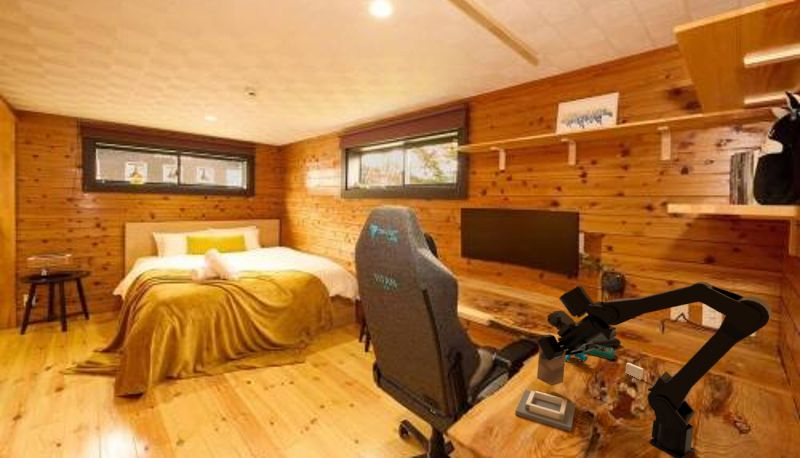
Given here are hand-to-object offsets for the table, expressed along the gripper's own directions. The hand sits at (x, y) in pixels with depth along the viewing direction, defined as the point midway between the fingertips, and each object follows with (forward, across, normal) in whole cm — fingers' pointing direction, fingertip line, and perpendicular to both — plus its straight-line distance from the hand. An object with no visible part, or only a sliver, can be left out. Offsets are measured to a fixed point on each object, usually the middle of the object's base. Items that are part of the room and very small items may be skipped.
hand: (547, 356), depth 111 cm
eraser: (+3, -35, +12) cm, 37 cm away
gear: (+15, -28, 0) cm, 31 cm away
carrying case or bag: (+20, -54, -5) cm, 58 cm away
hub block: (+4, 0, +6) cm, 7 cm away
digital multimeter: (+16, -42, -2) cm, 45 cm away
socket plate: (+1, +10, +13) cm, 16 cm away
